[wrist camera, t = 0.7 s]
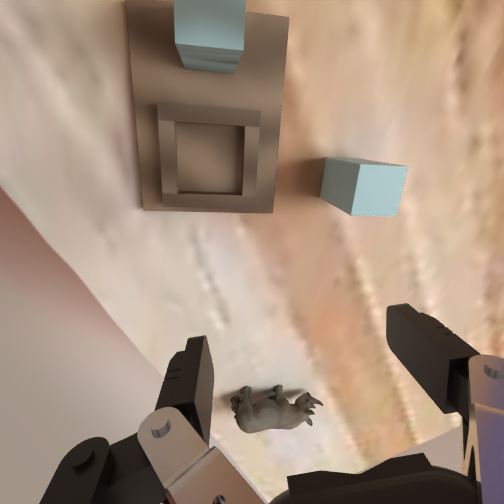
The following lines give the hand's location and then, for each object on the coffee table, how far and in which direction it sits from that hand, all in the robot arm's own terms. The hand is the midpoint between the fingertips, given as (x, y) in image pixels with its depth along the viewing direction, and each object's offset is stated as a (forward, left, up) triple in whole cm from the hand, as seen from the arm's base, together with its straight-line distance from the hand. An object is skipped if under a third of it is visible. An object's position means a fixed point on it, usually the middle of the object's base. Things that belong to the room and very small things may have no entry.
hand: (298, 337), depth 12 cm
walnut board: (-9, -4, -22) cm, 24 cm away
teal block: (-4, +11, -22) cm, 25 cm away
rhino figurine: (+29, +6, -22) cm, 37 cm away
